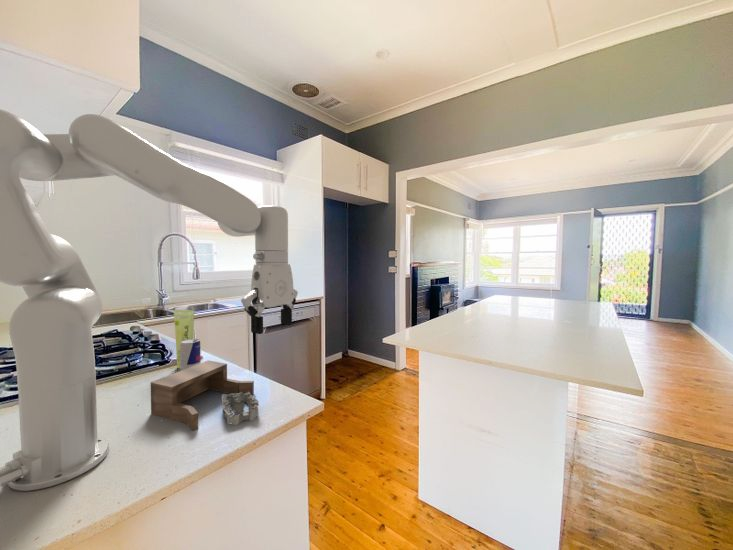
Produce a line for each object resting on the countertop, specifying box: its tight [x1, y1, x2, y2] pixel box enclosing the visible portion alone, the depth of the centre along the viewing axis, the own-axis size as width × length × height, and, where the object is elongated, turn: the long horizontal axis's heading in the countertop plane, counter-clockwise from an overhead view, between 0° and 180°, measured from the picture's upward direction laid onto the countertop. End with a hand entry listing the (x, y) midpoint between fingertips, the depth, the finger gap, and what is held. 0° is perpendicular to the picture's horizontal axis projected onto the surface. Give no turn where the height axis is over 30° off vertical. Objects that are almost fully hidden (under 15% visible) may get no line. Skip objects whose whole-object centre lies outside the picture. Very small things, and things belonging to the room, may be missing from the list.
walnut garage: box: [150, 360, 255, 431], centre depth 76 cm, size 19×16×8 cm
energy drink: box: [179, 338, 202, 371], centre depth 91 cm, size 5×5×12 cm
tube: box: [172, 309, 195, 369], centre depth 101 cm, size 6×5×20 cm
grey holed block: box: [221, 392, 259, 426], centre depth 73 cm, size 11×8×4 cm
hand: (272, 328), depth 73 cm, fingers open, 9 cm apart
